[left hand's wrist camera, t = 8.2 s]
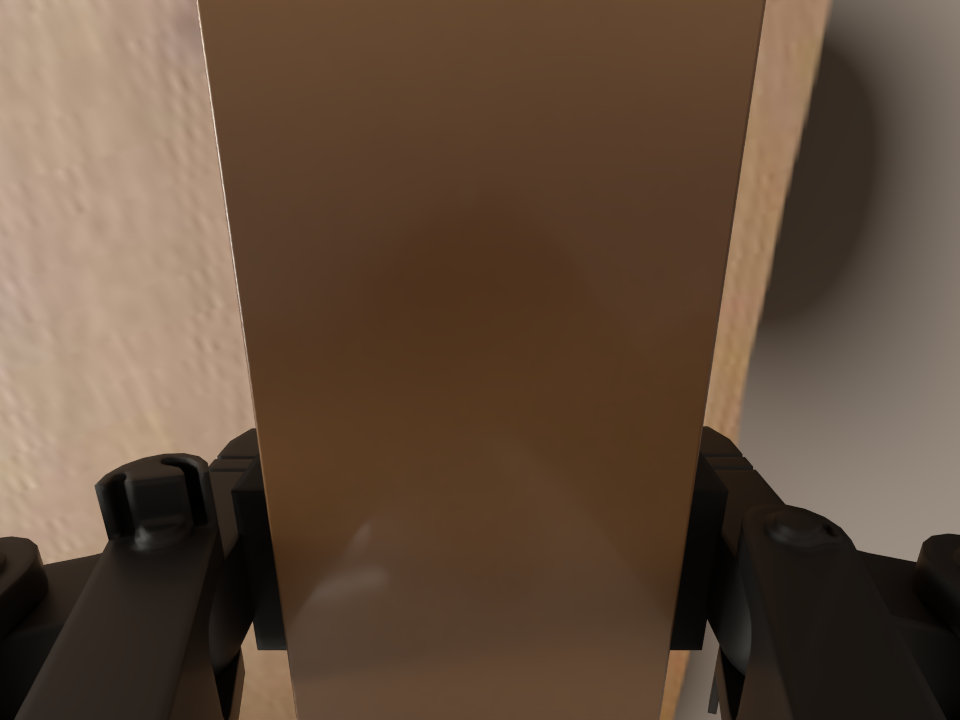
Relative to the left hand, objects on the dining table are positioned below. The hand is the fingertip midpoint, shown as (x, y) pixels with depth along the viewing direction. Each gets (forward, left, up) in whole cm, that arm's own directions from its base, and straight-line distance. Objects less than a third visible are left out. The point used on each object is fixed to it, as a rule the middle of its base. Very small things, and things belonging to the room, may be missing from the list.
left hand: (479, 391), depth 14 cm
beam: (+20, +4, -1) cm, 21 cm away
